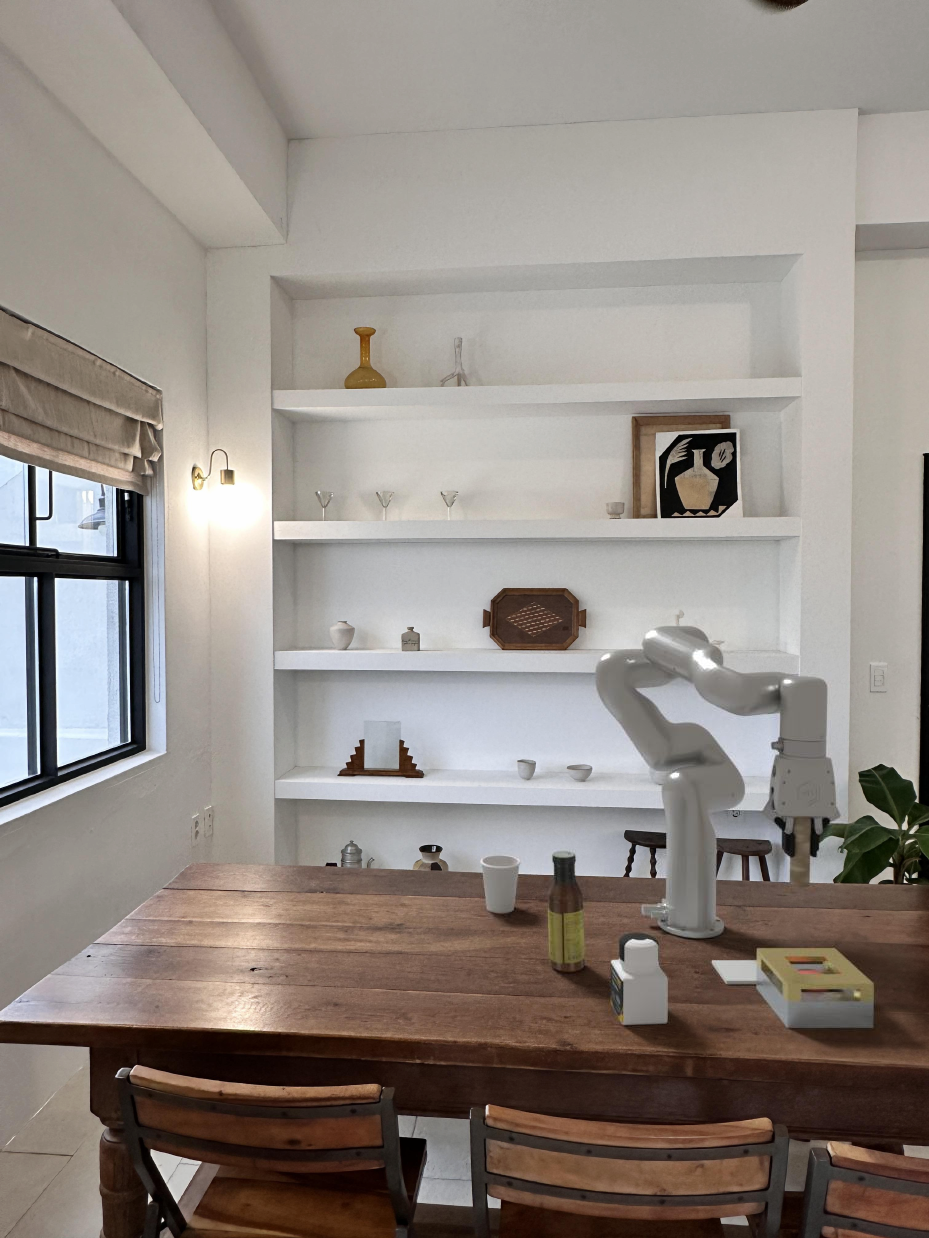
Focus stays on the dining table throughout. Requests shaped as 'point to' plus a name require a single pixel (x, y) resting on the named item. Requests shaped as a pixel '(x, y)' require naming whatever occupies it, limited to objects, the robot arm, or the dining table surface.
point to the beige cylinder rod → (801, 852)
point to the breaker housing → (831, 1009)
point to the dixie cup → (500, 882)
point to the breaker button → (811, 971)
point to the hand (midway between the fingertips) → (800, 853)
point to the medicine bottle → (639, 981)
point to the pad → (737, 971)
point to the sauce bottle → (565, 916)
